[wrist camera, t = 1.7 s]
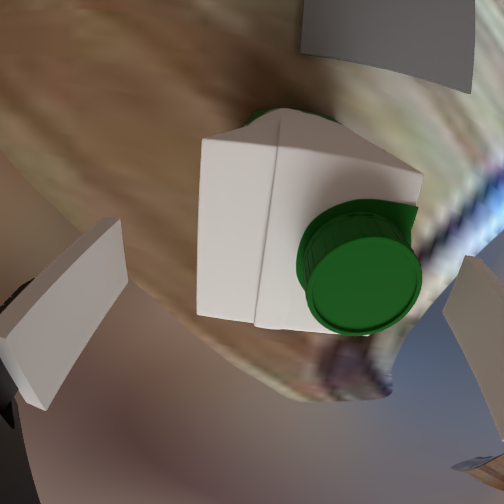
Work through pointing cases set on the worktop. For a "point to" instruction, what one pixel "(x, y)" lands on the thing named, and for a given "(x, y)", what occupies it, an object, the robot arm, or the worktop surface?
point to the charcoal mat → (396, 36)
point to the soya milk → (305, 227)
